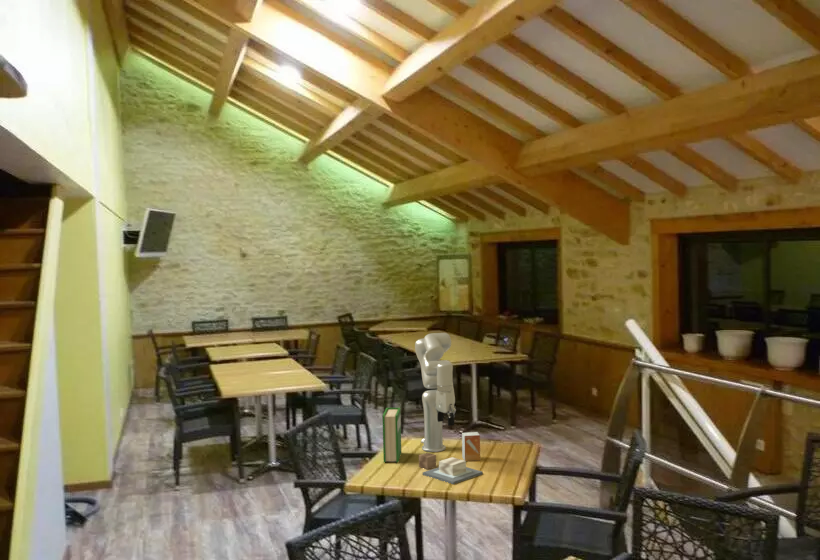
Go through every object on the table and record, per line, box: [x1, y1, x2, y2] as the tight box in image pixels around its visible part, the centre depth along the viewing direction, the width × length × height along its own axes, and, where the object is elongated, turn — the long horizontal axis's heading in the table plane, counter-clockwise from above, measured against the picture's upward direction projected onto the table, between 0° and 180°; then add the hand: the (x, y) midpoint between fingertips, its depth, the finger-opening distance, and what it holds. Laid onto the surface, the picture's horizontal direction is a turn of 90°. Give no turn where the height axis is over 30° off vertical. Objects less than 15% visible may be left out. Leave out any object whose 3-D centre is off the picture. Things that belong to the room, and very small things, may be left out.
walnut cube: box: [418, 452, 437, 471], centre depth 341 cm, size 6×6×6 cm
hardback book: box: [382, 407, 402, 463], centre depth 358 cm, size 18×7×24 cm, turn 176°
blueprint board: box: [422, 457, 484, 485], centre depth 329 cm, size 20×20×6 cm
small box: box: [461, 431, 481, 462], centre depth 352 cm, size 8×6×13 cm
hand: (445, 423), depth 340 cm, fingers open, 9 cm apart
